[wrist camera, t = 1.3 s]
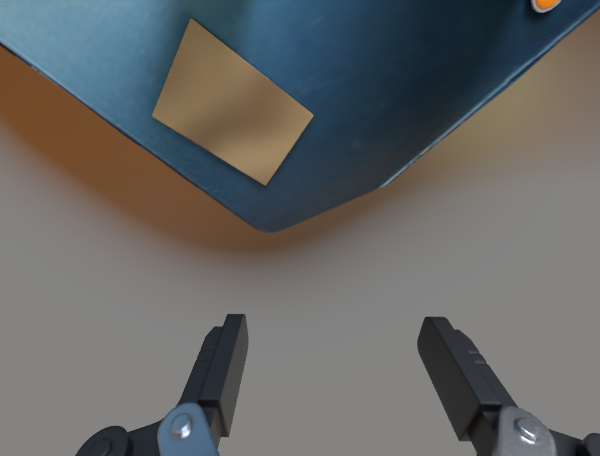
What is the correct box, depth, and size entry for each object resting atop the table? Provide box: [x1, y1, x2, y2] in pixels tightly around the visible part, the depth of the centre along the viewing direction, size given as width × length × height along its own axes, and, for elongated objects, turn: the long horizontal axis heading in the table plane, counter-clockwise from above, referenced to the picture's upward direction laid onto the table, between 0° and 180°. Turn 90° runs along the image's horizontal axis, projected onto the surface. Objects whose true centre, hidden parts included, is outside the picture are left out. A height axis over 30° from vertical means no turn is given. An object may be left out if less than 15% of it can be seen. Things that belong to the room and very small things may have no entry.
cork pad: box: [152, 18, 314, 186], centre depth 27 cm, size 14×10×1 cm
